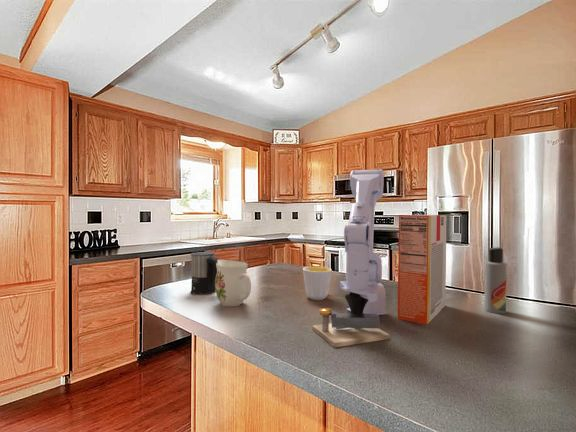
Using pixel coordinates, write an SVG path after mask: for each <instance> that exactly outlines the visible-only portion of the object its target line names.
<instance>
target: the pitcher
mask: <svg viewBox="0 0 576 432" xmlns="http://www.w3.org/2000/svg"><path fill="white" fill-rule="evenodd" d="M216 267H217V274H216V278H215V290H216V291H215V294H216V296H217V300H218V301H219V303H220V304H221V306H223V305H224V307H237V306H236V305H238V306H240V304H241V305H242V304H243V302H244V301H245V300H248V298H249V297H250V295H251V291H252V290H251V289H252V281H251V278H250V276H249V275H248V273H247V269H248V263H247V262H245V261H244V262H243V261H237V260H229V259H219V260H217V263H216Z"/></svg>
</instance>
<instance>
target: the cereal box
mask: <svg viewBox="0 0 576 432" xmlns="http://www.w3.org/2000/svg"><path fill="white" fill-rule="evenodd" d="M447 217H448V216H447V214H399V215H398V260H397V262H398V264H397V265H398V272H397V275H398V276H397V277H398V278H397V280H398V281H397V282H398V283H397V319H399V320H404V321H409V322H413V323H419V324H423V325H428V324H429V323H430V322H431V321H432V320H433V319H434V318H435V317H436V316H437V315H438V314H439V313H440V312H441V311H442V310H443V309H444V308H445V306H446V292H447V291H446V288H447V287H446V282H447V281H446V279H447V277H446V276H447V221H448V220H447ZM442 308H443V309H442ZM441 309H442V310H441Z"/></svg>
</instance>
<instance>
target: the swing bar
mask: <svg viewBox="0 0 576 432" xmlns="http://www.w3.org/2000/svg"><path fill="white" fill-rule="evenodd" d="M319 315H320V316H322V315H325V316H328V315H329V318H330V323H331V325H332V327H334V328H378V329H380V328H381V327H380V326H381V318H380V315H377V314H364V313H351V312H349V313H348V312H336V311H335V310H332V309H331V308H329V307H321V308H319ZM380 330H381V329H380Z"/></svg>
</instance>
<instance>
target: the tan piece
mask: <svg viewBox="0 0 576 432" xmlns="http://www.w3.org/2000/svg"><path fill="white" fill-rule="evenodd" d="M321 316H322V317H321V319H322V320H321V321H322V322H321V323H322V324H314V325H312V330H313V331H314V332H315V333H316V334H317V335H318V336H320V337H321V338H322V339H324V341H325V342H327V343H329V344H330V345H331V346H332V347H333V348H340V347H341V348H342V347H347V346H351V345H352V346H353V345H358V344H364V343H371V342H377V341H383V340H389V339H390V334H389V333H387V332H385V331H384V330H382V329H378V328H334V327H332V325H331V322H330V315H328V316H325V315H321Z"/></svg>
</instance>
